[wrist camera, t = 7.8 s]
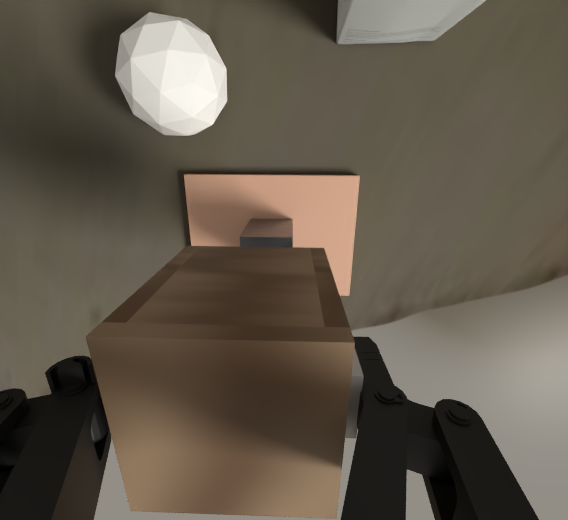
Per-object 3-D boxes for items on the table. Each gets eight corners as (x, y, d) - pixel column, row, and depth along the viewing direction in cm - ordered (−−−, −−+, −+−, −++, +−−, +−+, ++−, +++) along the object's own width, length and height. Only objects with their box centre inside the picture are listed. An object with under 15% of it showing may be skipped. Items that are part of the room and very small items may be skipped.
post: (252, 258, 30) (241, 285, 24) (250, 218, 29) (239, 236, 22) (292, 258, 30) (292, 286, 24) (292, 219, 28) (292, 237, 22)
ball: (183, 75, 28) (130, -28, 20) (256, 99, 26) (228, -5, 18) (137, 139, 26) (62, 53, 19) (211, 170, 24) (159, 88, 17)
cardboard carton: (199, 358, 18) (130, 511, 10) (187, 245, 15) (85, 336, 8) (317, 361, 18) (336, 518, 10) (324, 247, 15) (354, 342, 8)
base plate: (199, 289, 32) (196, 293, 31) (187, 173, 28) (183, 174, 27) (347, 291, 32) (349, 295, 31) (357, 175, 28) (359, 175, 27)
